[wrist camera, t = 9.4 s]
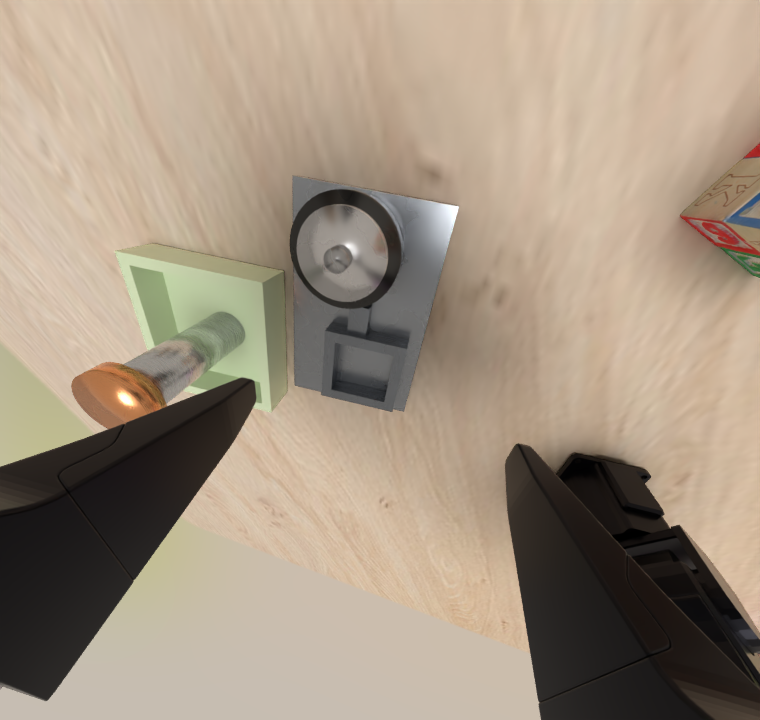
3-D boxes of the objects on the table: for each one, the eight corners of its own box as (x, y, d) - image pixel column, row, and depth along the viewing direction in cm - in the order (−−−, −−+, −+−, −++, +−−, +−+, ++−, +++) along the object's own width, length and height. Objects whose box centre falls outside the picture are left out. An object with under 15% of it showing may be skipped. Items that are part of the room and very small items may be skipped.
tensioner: (404, 404, 26) (399, 440, 22) (299, 379, 26) (276, 410, 23) (457, 205, 17) (462, 211, 14) (299, 176, 18) (262, 173, 14)
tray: (287, 391, 28) (271, 412, 25) (185, 366, 28) (159, 384, 26) (284, 270, 21) (262, 282, 19) (153, 243, 22) (114, 250, 19)
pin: (254, 356, 25) (159, 444, 17) (207, 345, 26) (90, 426, 17) (249, 310, 23) (135, 385, 14) (198, 299, 23) (57, 366, 15)
